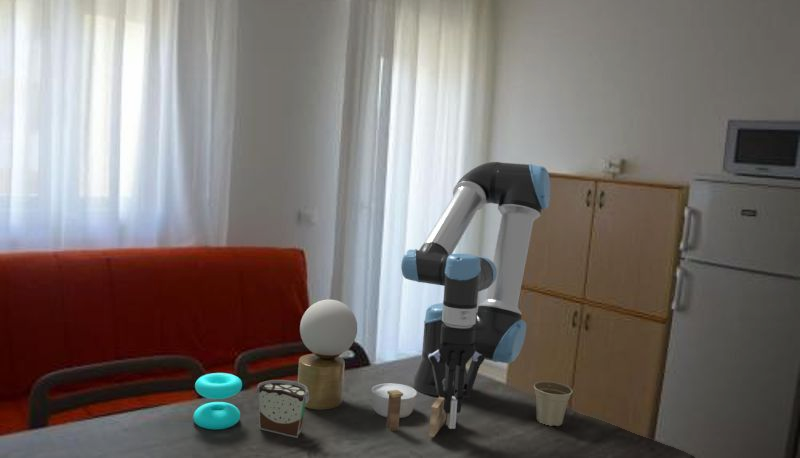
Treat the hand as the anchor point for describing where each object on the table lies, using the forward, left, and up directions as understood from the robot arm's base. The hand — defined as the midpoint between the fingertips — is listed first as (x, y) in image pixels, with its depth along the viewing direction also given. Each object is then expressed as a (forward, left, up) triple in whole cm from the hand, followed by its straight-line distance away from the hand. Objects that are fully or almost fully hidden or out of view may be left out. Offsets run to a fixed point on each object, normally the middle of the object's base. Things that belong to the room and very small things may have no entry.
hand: (450, 426), depth 150 cm
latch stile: (-8, -11, -2) cm, 13 cm away
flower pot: (+1, +29, -2) cm, 29 cm away
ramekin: (-17, -5, -3) cm, 18 cm away
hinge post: (-8, +4, -2) cm, 9 cm away
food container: (-16, -33, -2) cm, 37 cm away
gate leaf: (-3, -2, -1) cm, 4 cm away
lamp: (-30, -18, -2) cm, 35 cm away
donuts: (-24, -46, -3) cm, 52 cm away
